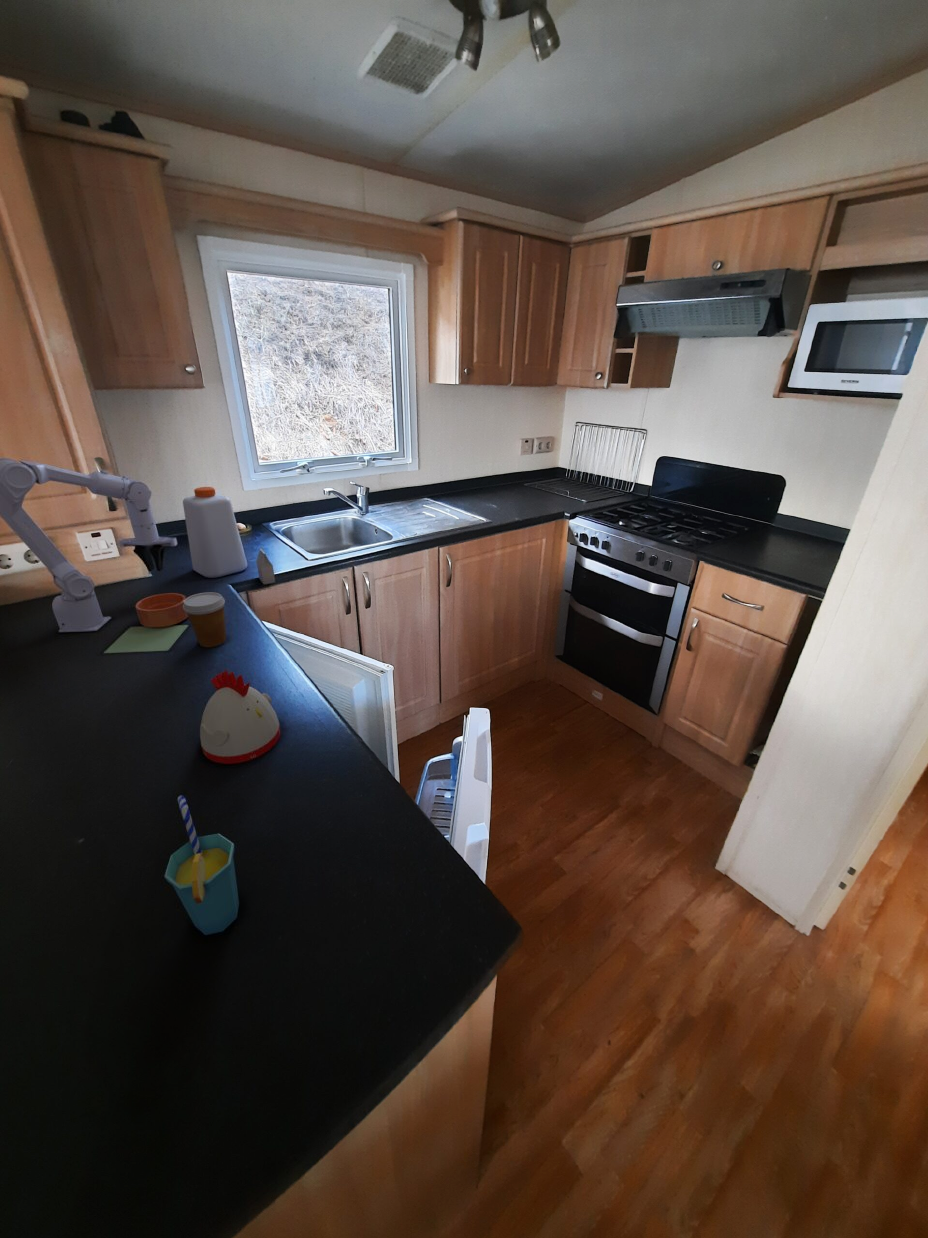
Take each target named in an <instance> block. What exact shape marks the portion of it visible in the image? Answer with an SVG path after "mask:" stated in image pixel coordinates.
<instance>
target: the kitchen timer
mask: <svg viewBox="0 0 928 1238" xmlns="http://www.w3.org/2000/svg"><path fill="white" fill-rule="evenodd" d="M210 682H211V683H212V685H213V687H214V688H215V690H216V691H215V692H214V693H213V694H212V696H211V697H210V698H209V699H208V701H207V703H206V706H205V708H204V710H203V712H202V716H201V723H200V725H199V726H200V729H199V738H200V745H201V750H202V753H203V755H204V756H205V757H206V758H207V759H208V760H210V761H212V762H214V763H219V764H223V765H224V764H225V765H227V764H228V765H229V764H239V763H244V762H248V761H252V760H253V759H256V758H258V757H260V756H262V755H264V754H265V753H267V752H268V751H270V750H271V749H272V748H273V747H274V746H275V745H276V744H277V742H278V741H279V739H280V737H281V732H282V731H281V724H280V721H279V718H278V715H277V713H276V711H275V709H274V708H273V706H272V698H271V697H270V696H269V694H268V693H266V692H262V693H261V692H259V690H257V689H256V688H254V687H252V686H250V685H251V683H250V681H248V682H247V683H246V684H245V682H244V678H243V675H242V674H239V675H238V676H237V677H236V676H235V673H234V671H231V672H230V673H228V671H227V670H226V669H225V670H223V671H222V672H221V673H218V674H217V675H215V676H214V677H213V678H211V679H210Z"/></svg>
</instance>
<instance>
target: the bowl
mask: <svg viewBox="0 0 928 1238" xmlns="http://www.w3.org/2000/svg"><path fill="white" fill-rule="evenodd" d="M186 598H187V597H186V595H184V594H182V593H177V592H166V593H165V592H163V593H157V594H154V595H150V596H147V597H145V598H143V599H140V600H138V601H137V602H136V604H135V610H136V614H137V618H138V621H139V624H140V625H141V626H142V627H144V626H147V627H155V628H159V627H167V626H173V625H177V624H179V623H181V622H183V621H184V620H186V619H187V618H189V617H188V615H187V612H185V610H184V609H183V605H184V600H185V599H186Z"/></svg>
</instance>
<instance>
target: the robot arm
mask: <svg viewBox="0 0 928 1238" xmlns="http://www.w3.org/2000/svg"><path fill="white" fill-rule="evenodd" d="M50 481H51V482H56V483H63V484H67V485H73V486H79V487H85V488H87V489H88V491H90V493H91V494H92V495H99V496H103V497H108V498H113V499H119V500H124V502H125V507H126V511H127V514H128V518H129V521H130V526H131V529H132V532H133V536H134V537H127V538H121V539H119V540H118V544H119V547H120V548H126V547H134V549H132V551H133V553H134V555H136V556H137V557H138V558H139V560H141V561H142V563H143V564H144V566H145V567H146V569H147V571H148V572H152V571H154V569H156V570H157V572H161V571H162V570H164V556H165V551H166V549H167V547H176V546H177V545H178V539H177V537H166V536H159V532H158V529H157V525H156V520H155V517H154V513H153V508H152V505H151V502H150V500H151V497H152V490H150V488H149V487H148V485H147V484H146V483H144V482H142V481H139V480H135V479H132V478H130V477H129V476H126V475H122V476H119V475H114V474H110V473H109V472H108V471H106V470H102V469H100V471H93V472H91V473H89V474H86V473H82V472H78V471H74V470H71V469H70V470H69V469H66V468H63V467H58V466H54V465H50V464H46V463H42V462H35V461H30V460H29V461H28V460H20V459H18V460H17V461H16V460H14V459H12V458H6V457H1V458H0V518H1V519H2V520H3V522H5V524H6V525H7V526H8V527H9V528H10V529H11V530H12V532H14V533H15V535H16V536H17V537H18V538H19V539H20V540H21V541H22V543H23V544H24V545H25V546H26V547H27V548H28V549H29V550H30V551H31V553H32V554H34V555H35V557H37V559H38V560H39V561H40V562H41V563H42V565H44V567H45V568H46V569H47V571H48V573H50V575H51V576H52V578H53V583H54V585H55V586H56V587H57V588H59V589H60V590H62V591H61V594H60V595H57V596H55V597H54V598H53V600H52V604H51V607H52V608H51V609H52V612H53V614H54V617H55V620H56V622H57V626H58V627H59V628H58V629H59V630H58V633H80V632H83V633H84V632H97V631H98V630H99V629H101V628H102V627H103V626H104V625H105V624H107V623H108V622H109V621H110V620H111V619H112V616H104V615H103V613H102V610H101V607H100V604H99V601H98V598H97V596H96V595H97V594H96V592H95V583H94V580H93V579H92V578H90V577H89V576H87V575H86V574H83V573H82V572H81V571H80V570H79V569H77V568H76V566H75V565H74V564H72V563H71V562H70V561H69V560H68V558H67V557H66V556H65V555H64V553H62V551H60V549H59V548H58V547H57V546H56V544H54V542H53V541H52V540H51V539H50V537H49V536H47V534H46V533H45V531H43V529H42V528H41V527H40V526H39V525H38V524H37V523H36V522H35V520H34V519H33V518H32V516H30V515H29V513H28V512H27V511H26V510H25V508H24V507H23V504H24V500H25V498H26V495H27V494H28V493H29V492H30V491H31V490H32V489H33V488H34V486H35V484H37V485H43V484H45V483H48V482H50ZM153 561H154V562H153ZM154 563H155V564H154ZM154 565H155V566H154Z"/></svg>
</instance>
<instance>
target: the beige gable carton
mask: <svg viewBox="0 0 928 1238" xmlns="http://www.w3.org/2000/svg"><path fill="white" fill-rule="evenodd" d="M255 563H256V568H257V569H256V570H257V574H258V579H259V580H260V582H261V583H262V584H263V585H268V584H269V585H270V584H274V583H276V578H275V577H276V576H275V572H274V565H273V563H272V562H271V561H270V560H269V558H268V556H267V555H266V553H265V551H264V550H263V549H262V548H259V550H258V554H257V558H256V561H255Z"/></svg>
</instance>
